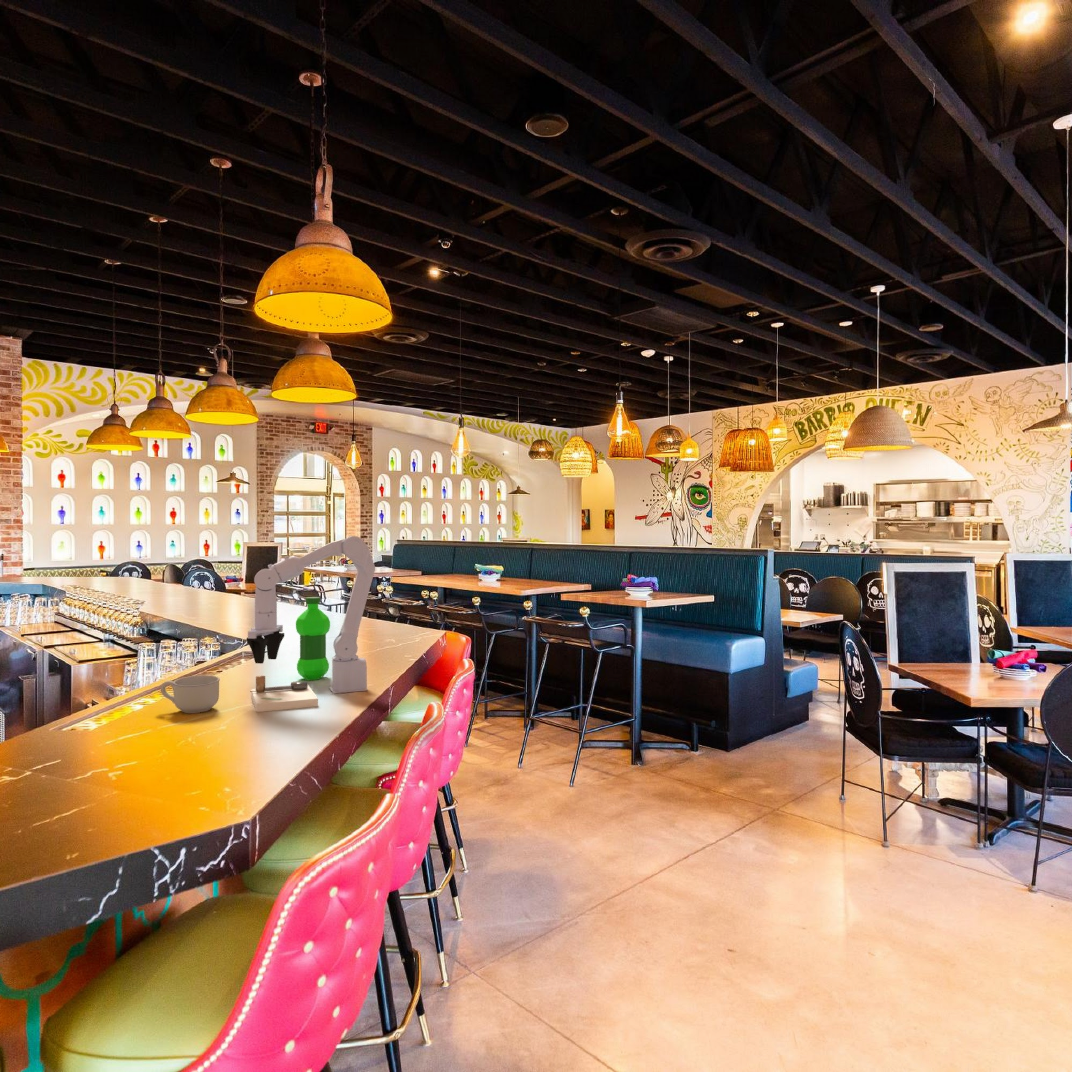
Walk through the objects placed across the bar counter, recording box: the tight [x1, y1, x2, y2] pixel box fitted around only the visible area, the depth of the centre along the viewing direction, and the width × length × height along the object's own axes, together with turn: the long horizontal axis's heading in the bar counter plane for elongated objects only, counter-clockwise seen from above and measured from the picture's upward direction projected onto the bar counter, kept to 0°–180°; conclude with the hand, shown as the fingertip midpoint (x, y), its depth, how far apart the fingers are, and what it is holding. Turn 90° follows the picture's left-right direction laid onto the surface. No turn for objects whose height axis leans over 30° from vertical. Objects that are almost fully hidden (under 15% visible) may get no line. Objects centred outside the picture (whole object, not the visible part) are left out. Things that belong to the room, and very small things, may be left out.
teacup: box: [160, 674, 221, 714], centre depth 185 cm, size 14×11×8 cm
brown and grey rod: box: [249, 675, 309, 693], centre depth 199 cm, size 15×4×4 cm, turn 115°
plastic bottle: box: [295, 596, 331, 681], centre depth 227 cm, size 10×10×25 cm
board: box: [250, 684, 319, 713], centre depth 195 cm, size 15×19×2 cm
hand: (265, 661), depth 203 cm, fingers open, 6 cm apart
